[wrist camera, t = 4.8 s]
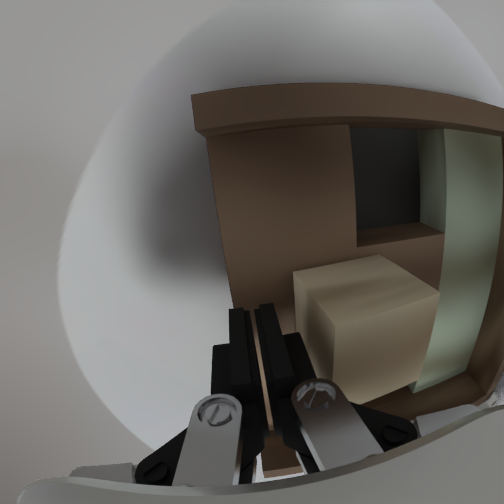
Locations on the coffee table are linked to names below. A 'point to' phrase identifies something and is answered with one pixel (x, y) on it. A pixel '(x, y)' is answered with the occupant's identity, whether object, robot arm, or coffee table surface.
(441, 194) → the box
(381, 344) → the maple block
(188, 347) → the coffee table surface
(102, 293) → the coffee table surface
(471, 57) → the coffee table surface
